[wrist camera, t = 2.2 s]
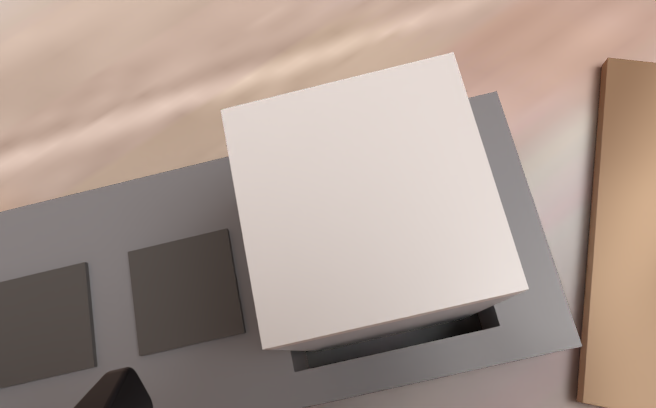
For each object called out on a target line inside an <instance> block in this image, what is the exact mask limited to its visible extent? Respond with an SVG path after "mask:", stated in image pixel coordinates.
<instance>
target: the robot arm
mask: <svg viewBox="0 0 656 408" xmlns="http://www.w3.org/2000/svg"><path fill="white" fill-rule="evenodd" d="M73 408H153V403H152V400H151V397H150V395H149V394H148V392H147V390H146V388H145V387H144V385H143V383H142V381H141V380H140V378H139V376H138V374H137V373H136V371H135V370H134V369H133V368H131V367H124V368H120V369H116V370H111V371H109V372H107V373H105V374H104V375H103V376H102V377H101V378H100V379H99V381H98V382H97V383H96V384H95V385H94V386H93V387H92V388H91V389H90V390H89V391H88V392H87V393H86V395H85V396H84V397H83V398H82V399H81V400H80V401H79V402H78V403H77V404H76V405H75V406H74V407H73Z"/></svg>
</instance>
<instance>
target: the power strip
mask: <svg viewBox="0 0 656 408" xmlns="http://www.w3.org/2000/svg"><path fill="white" fill-rule="evenodd" d="M468 99H469V102H470V105H471V109H472V112H473V115H474V118H475V121H476V124H477V127H478V131H479V134H480V137H481V140H482V143H483V146H484V149H485V153H486V156H487V159H488V162H489V165H490V168H491V171H492V175H493V178H494V181H495V184H496V187H497V190H498V193H499V196H500V200H501V203H502V206H503V209H504V212H505V215H506V218H507V222H508V225H509V228H510V231H511V234H512V237H513V240H514V244H515V247H516V250H517V253H518V256H519V259H520V262H521V266H522V269H523V272H524V275H525V278H526V281H527V284H528V288H529V289H528V290H526V291H524V292H522V293H519V294H517V295H515V296H513V297H511V298H508V299H506V300H504V301H502V302H500V303H498V304H495V305H493V306H491V307H489V308H487V309H484V310H482V311H480V312H478V316H479V320H480V323H481V327H482V330H481V331H476V332H472V333H467V334H463V335H458V336H454V337H449V338H445V339H440V340H436V341H432V342H427V343H423V344H418V345H414V346H409V347H405V348H400V349H396V350H391V351H387V352H382V353H378V354H374V355H369V356H365V357H360V358H356V359H351V360H347V361H342V362H338V363H333V364H329V365H324V366H320V367H316V368H311V369H309V367H308V362H307V357H306V352H305V351H293V350H262V344H261V338H260V333H259V327H258V321H257V316H256V310H255V304H254V298H253V293H252V287H251V281H250V275H249V270H248V264H247V258H246V252H245V247H244V241H243V235H242V230H241V224H240V218H239V212H238V207H237V201H236V195H235V189H234V184H233V178H232V172H231V166H230V161H229V157H225V158H220V159H216V160H212V161H208V162H204V163H200V164H196V165H192V166H188V167H183V168H179V169H175V170H171V171H167V172H163V173H159V174H155V175H151V176H146V177H142V178H138V179H134V180H130V181H126V182H122V183H118V184H114V185H109V186H105V187H101V188H97V189H93V190H89V191H85V192H81V193H77V194H72V195H68V196H64V197H60V198H56V199H52V200H48V201H44V202H40V203H35V204H31V205H27V206H23V207H19V208H15V209H11V210H7V211H3V212H0V408H73V407H74V406H75V405H76V404H77V403H78V402H79V401H80V400H81V399H82V398H83V397H84V396H85V395H86V393H87V392H88V391H89V390H90V389H91V388H92V387H93V386H94V385H95V384H96V383H97V382H98V381H99V379H100V378H101V377H102V376H103V375H104V374H105V373H107V372H109V371H111V370H116V369H120V368H124V367H131V368H133V369H134V370H135V371H136V373H137V374H138V376H139V378H140V380H141V381H142V383H143V385H144V387H145V388H146V390H147V392H148V394H149V395H150V397H151V400H152V403H153V408H306V407H310V406H315V405H319V404H324V403H328V402H333V401H337V400H342V399H346V398H351V397H355V396H360V395H364V394H369V393H373V392H378V391H382V390H387V389H392V388H396V387H401V386H405V385H410V384H414V383H419V382H423V381H428V380H432V379H437V378H441V377H446V376H450V375H455V374H459V373H464V372H468V371H473V370H477V369H482V368H487V367H491V366H496V365H500V364H505V363H509V362H514V361H518V360H523V359H527V358H532V357H536V356H541V355H545V354H550V353H554V352H559V351H563V350H568V349H572V348H577V347H582V344H581V341H580V338H579V335H578V332H577V329H576V326H575V323H574V320H573V317H572V314H571V311H570V308H569V305H568V302H567V299H566V296H565V293H564V290H563V287H562V284H561V281H560V278H559V275H558V272H557V269H556V266H555V263H554V260H553V258H552V255H551V252H550V249H549V246H548V243H547V240H546V237H545V234H544V231H543V228H542V225H541V222H540V219H539V216H538V213H537V210H536V207H535V204H534V201H533V198H532V195H531V192H530V189H529V186H528V183H527V180H526V177H525V174H524V171H523V168H522V165H521V162H520V159H519V156H518V153H517V150H516V147H515V144H514V141H513V138H512V136H511V133H510V130H509V127H508V124H507V121H506V118H505V115H504V112H503V109H502V106H501V103H500V100H499V97H498V94H497V91H496V92H492V93H488V94H484V95H479V96H475V97H471V98H468Z"/></svg>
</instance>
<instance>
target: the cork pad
mask: <svg viewBox="0 0 656 408" xmlns="http://www.w3.org/2000/svg"><path fill="white" fill-rule="evenodd" d="M581 344H582V347H581V349H580V363H579V376H578V389H577V401H578V402H581V403H586V404H591V405H596V406H601V407H606V408H656V63H653V62H643V61H634V60H625V59H616V58H607V60H606V61H605V62H604V64H603V65H602V69H601V82H600V96H599V109H598V122H597V136H596V149H595V162H594V176H593V189H592V202H591V216H590V229H589V242H588V256H587V269H586V282H585V296H584V309H583V322H582V336H581Z"/></svg>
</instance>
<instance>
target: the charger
mask: <svg viewBox="0 0 656 408" xmlns="http://www.w3.org/2000/svg"><path fill="white" fill-rule="evenodd" d="M221 115H222V121H223V126H224V132H225V138H226V144H227V149H228V155H229V161H230V166H231V172H232V178H233V184H234V189H235V195H236V201H237V207H238V212H239V218H240V224H241V230H242V235H243V241H244V247H245V252H246V258H247V264H248V270H249V275H250V281H251V287H252V293H253V298H254V304H255V310H256V316H257V321H258V327H259V333H260V338H261V344H262V350H293V351H324V350H328V349H333V348H337V347H342V346H346V345H351V344H355V343H359V342H364V341H368V340H373V339H377V338H382V337H386V336H391V335H395V334H399V333H404V332H408V331H413V330H417V329H422V328H426V327H430V326H435V325H439V324H444V323H448V322H453V321H457V320H462V319H465V318H467V317H469V316H471V315H473V314H476V313H478V312H480V311H482V310H484V309H487V308H489V307H491V306H493V305H495V304H498V303H500V302H502V301H504V300H506V299H508V298H511V297H513V296H515V295H517V294H519V293H522V292H524V291H526V290H528V289H529V288H528V284H527V281H526V278H525V275H524V272H523V269H522V266H521V262H520V259H519V256H518V253H517V250H516V247H515V244H514V240H513V237H512V234H511V231H510V228H509V225H508V222H507V218H506V215H505V212H504V209H503V206H502V203H501V200H500V196H499V193H498V190H497V187H496V184H495V181H494V178H493V175H492V171H491V168H490V165H489V162H488V159H487V156H486V153H485V149H484V146H483V143H482V140H481V137H480V134H479V131H478V127H477V124H476V121H475V118H474V115H473V112H472V109H471V105H470V102H469V99H468V96H467V93H466V90H465V87H464V83H463V80H462V77H461V74H460V71H459V68H458V65H457V62H456V58H455V55H454V52H452V53H448V54H444V55H440V56H436V57H432V58H428V59H424V60H420V61H416V62H411V63H407V64H403V65H399V66H395V67H391V68H387V69H383V70H379V71H375V72H371V73H367V74H363V75H359V76H355V77H351V78H347V79H343V80H339V81H335V82H331V83H327V84H322V85H318V86H314V87H310V88H306V89H302V90H298V91H294V92H290V93H286V94H282V95H278V96H274V97H270V98H266V99H262V100H258V101H254V102H250V103H246V104H242V105H237V106H233V107H229V108H225V109H221Z"/></svg>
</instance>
